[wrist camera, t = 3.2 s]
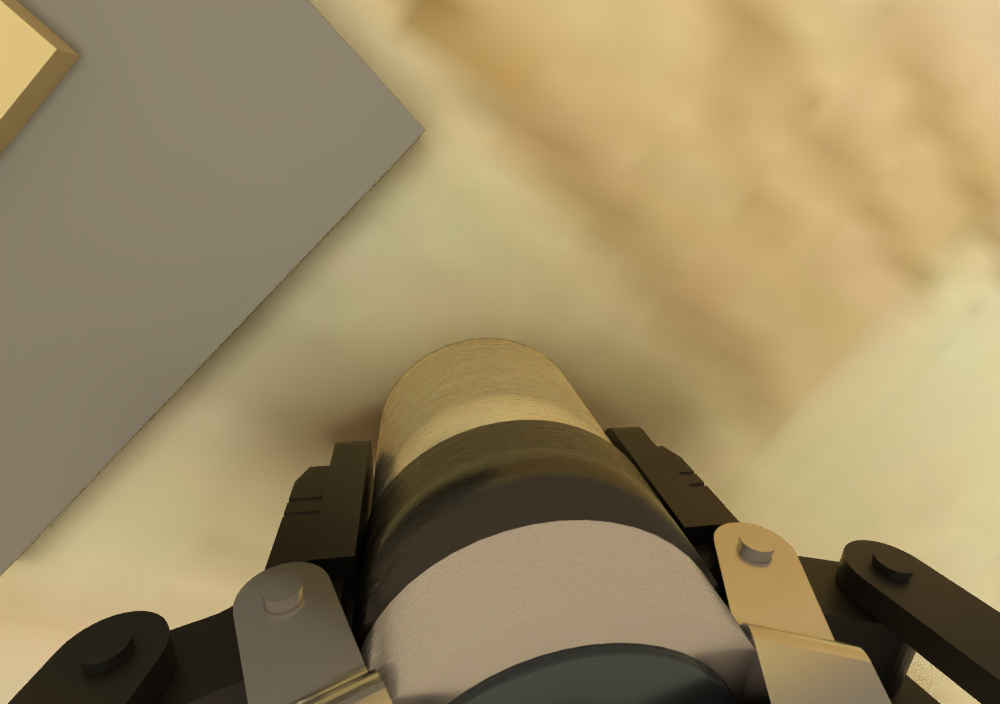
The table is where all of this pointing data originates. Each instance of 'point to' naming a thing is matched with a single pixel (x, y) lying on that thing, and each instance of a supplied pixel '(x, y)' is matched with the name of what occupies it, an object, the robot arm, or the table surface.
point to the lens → (528, 552)
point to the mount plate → (156, 208)
